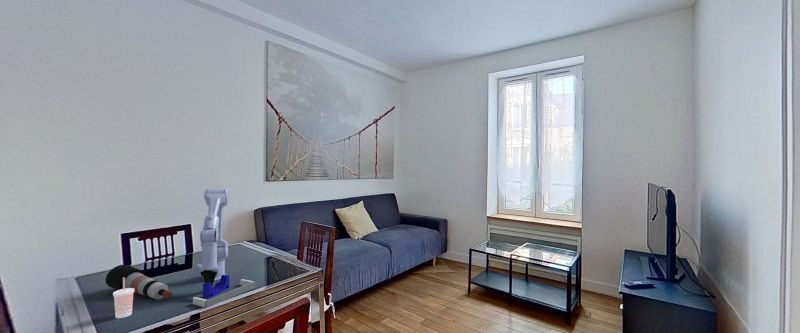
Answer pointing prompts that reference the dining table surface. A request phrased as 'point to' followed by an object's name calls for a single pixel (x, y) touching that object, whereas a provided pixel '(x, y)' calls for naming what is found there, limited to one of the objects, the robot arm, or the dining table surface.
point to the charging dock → (225, 294)
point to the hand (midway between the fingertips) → (209, 286)
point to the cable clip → (216, 287)
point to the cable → (136, 282)
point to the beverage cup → (123, 301)
